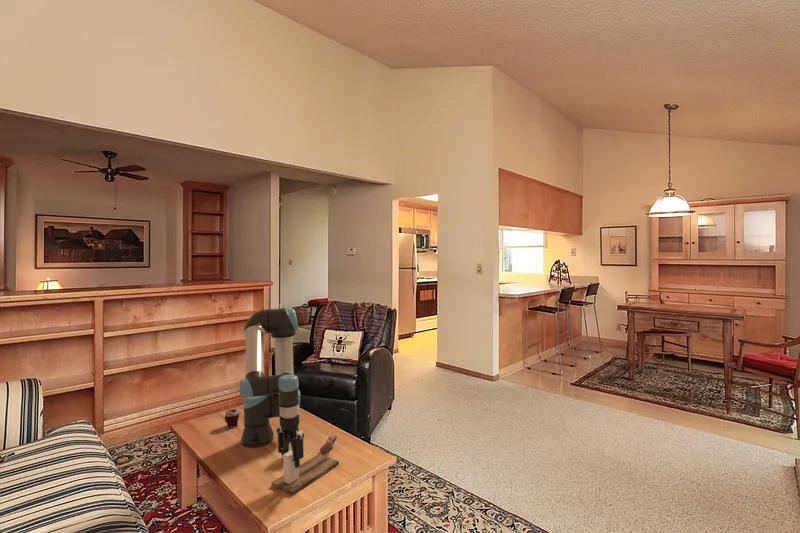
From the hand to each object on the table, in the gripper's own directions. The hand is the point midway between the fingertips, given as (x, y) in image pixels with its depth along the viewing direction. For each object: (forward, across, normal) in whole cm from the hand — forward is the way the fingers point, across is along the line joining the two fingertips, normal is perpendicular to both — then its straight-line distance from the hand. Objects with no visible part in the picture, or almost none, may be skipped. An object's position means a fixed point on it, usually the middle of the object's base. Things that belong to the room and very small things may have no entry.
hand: (291, 472), depth 160 cm
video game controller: (+5, -8, +30) cm, 31 cm away
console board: (+5, 0, +8) cm, 9 cm away
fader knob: (+3, 0, 0) cm, 3 cm away
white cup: (+5, -17, +17) cm, 25 cm away
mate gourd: (+5, -70, +21) cm, 73 cm away
